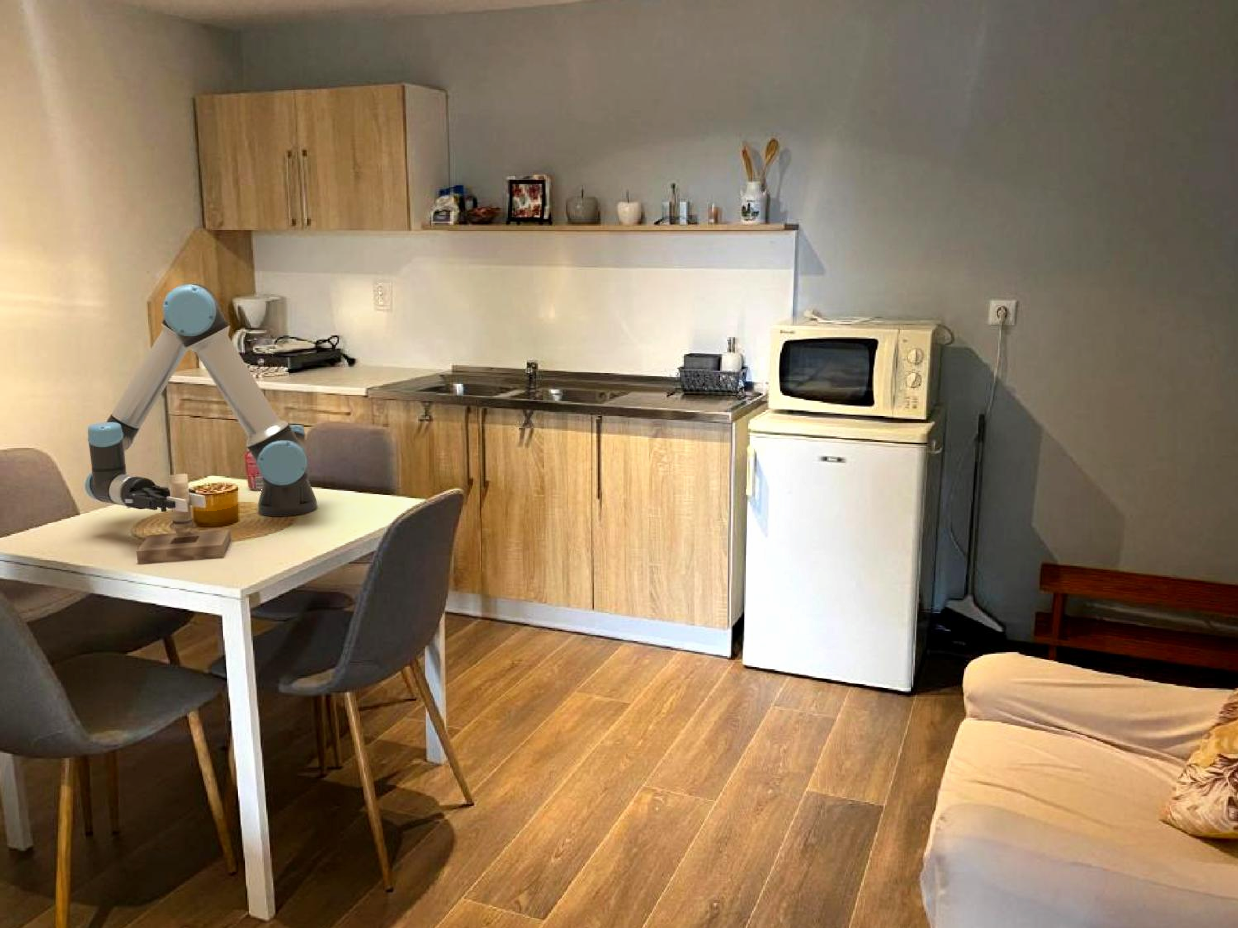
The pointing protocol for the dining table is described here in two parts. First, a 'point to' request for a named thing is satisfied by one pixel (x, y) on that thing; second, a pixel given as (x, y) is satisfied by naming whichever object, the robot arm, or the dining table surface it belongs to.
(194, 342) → the robot arm
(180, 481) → the peg
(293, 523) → the dining table surface
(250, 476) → the soda can
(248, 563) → the dining table surface
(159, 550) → the board
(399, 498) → the dining table surface
